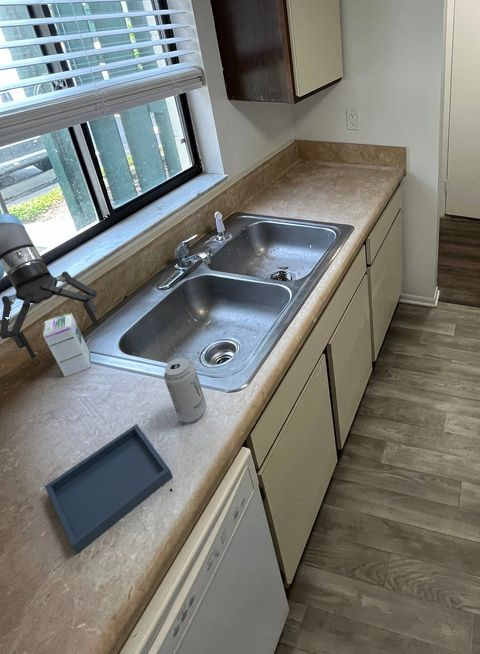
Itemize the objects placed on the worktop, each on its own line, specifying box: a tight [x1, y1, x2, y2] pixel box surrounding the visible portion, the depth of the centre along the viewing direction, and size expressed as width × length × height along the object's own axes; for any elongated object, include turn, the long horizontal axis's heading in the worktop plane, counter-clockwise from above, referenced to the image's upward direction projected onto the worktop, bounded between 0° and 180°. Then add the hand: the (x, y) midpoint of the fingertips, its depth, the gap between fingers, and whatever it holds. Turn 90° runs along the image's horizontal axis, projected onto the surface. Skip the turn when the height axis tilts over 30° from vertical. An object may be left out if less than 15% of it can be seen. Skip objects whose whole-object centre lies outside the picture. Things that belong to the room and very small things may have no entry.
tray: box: [44, 424, 173, 555], centre depth 85 cm, size 16×17×3 cm
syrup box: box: [42, 312, 92, 377], centre depth 110 cm, size 6×6×14 cm
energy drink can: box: [163, 356, 207, 424], centre depth 97 cm, size 6×6×15 cm
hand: (66, 340), depth 109 cm, fingers open, 13 cm apart
